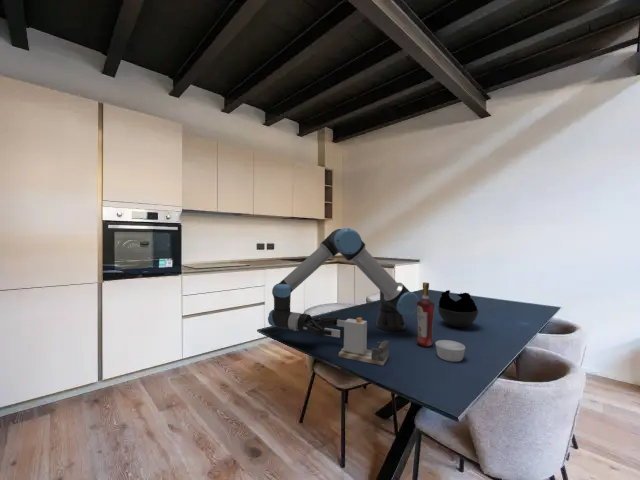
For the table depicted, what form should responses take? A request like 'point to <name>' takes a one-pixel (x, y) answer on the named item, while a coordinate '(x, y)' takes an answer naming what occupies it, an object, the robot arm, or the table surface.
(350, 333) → the module
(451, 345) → the ramekin
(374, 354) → the rail board
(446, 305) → the coal bowl
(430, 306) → the liquor
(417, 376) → the table surface
